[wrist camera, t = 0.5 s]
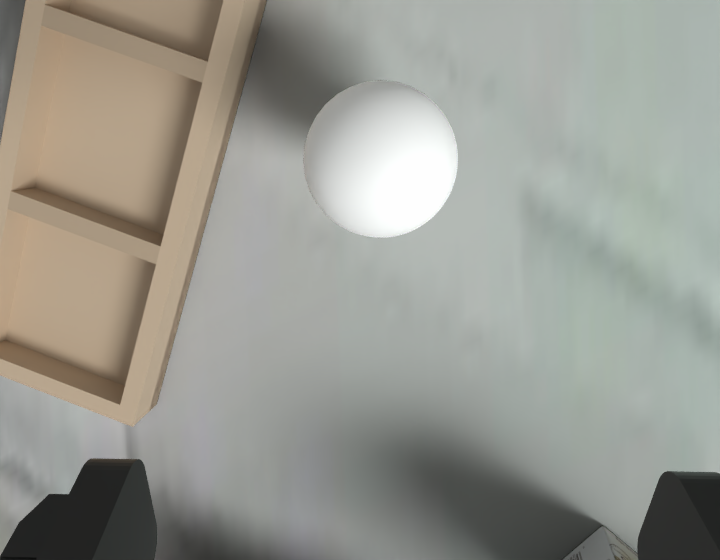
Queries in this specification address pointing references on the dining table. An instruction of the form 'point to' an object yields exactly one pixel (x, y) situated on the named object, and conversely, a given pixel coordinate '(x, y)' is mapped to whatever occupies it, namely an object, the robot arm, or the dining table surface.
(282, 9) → the dining table surface
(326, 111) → the lightbulb
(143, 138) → the wooden compartment tray
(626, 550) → the cookie box
